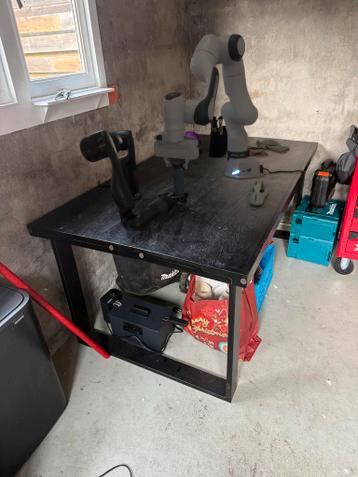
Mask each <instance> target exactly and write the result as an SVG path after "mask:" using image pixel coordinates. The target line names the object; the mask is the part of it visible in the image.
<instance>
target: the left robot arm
mask: <svg viewBox="0 0 358 477" xmlns="http://www.w3.org/2000/svg"><path fill="white" fill-rule="evenodd" d="M79 150H80V154H81V155H82V157H83V158H84V159H85V160H86V161H87V162H90V163H96V162H99V161H102V160H105V159H109V161H110V165H111V176H110V177H111V178H110V179H111V180H110V184H100V180H99V181H98V180H97V184H98V186H99V187H110V193H111V197H112V199H113V200H114V203H115V205H116V207H117V209H118V215H119V220H120V223H121V226H122V227H123V229H124V230H126V231H127V232H144V231H145V230H147V229H148V228H149V227H150V226H151V225H152V223H153V222H155V221H156V220H158V219H160V218H162V217H164V216H166V215H167V214H168V213H170V212H172V210H173V209H174V208H175V206H177V205H178V204H179V205H181V206H184V205H185V206H186V204H187V202H188V198H189V192H188V191H187V192H184V194H183V195H181V196H179V195H178V196H175V191H173V192H169V191H168V192H164V193H162V194H159V195H158V197H157V198H156V199H154V200H152V201H151V202H150V203H149V204H147V205H144V206H143V207H142V208H141V209H140V211H139V212H137V213H133V210H134V209H135V207H136V205H137V204H136V203H137V202H136V200H137V199H139V198H140V197H141V193H140V183H139V174H138V168H137V167H138V166H137V159H136V149H135V136H134V133H133V131H132V130H131V129H123V130H122V129H121V130H113V131H107V130H106V129H101V130H98V131H96V132H93V133H90V134H87V135H86V136H83V137H82V138H81V139H80V141H79ZM123 151H124V152H127V153H126V154H124V155H122V156H120V157H119V154H118V153H120V152H123ZM181 197H182V199H181Z"/></svg>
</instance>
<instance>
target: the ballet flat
mask: <svg viewBox="0 0 358 477" xmlns="http://www.w3.org/2000/svg"><path fill="white" fill-rule="evenodd" d="M268 194H269V189H268V186H267V183H266V182H265V181H264V180H262V179H257V180H255V181H254V182H253V184H252V187H251V190H250V196H249V204H250V205H251V206H252V207H260V206H261V205H263V203H264V201H265V198H266V196H267V195H268Z"/></svg>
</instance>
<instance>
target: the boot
mask: <svg viewBox="0 0 358 477" xmlns="http://www.w3.org/2000/svg"><path fill="white" fill-rule="evenodd" d="M217 119H218V118H217V116H216V115H214V118H213V120H212V121H211V122H210V123H209V125H210V132H209V139H211V131H212V129H213V128H214V126H215V123H216V121H217ZM217 128H219V123H217V124H216V128H215V129H217ZM213 130H214V129H213Z"/></svg>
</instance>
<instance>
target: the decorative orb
mask: <svg viewBox="0 0 358 477" xmlns="http://www.w3.org/2000/svg"><path fill="white" fill-rule="evenodd" d="M186 136H189V137H195V138H196V139H197V140H198V150H199V149H200V147H201V145H202V140H201V137H200V135H199V134H198V133H197V132H195V131H192V130H187V131H186Z"/></svg>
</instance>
